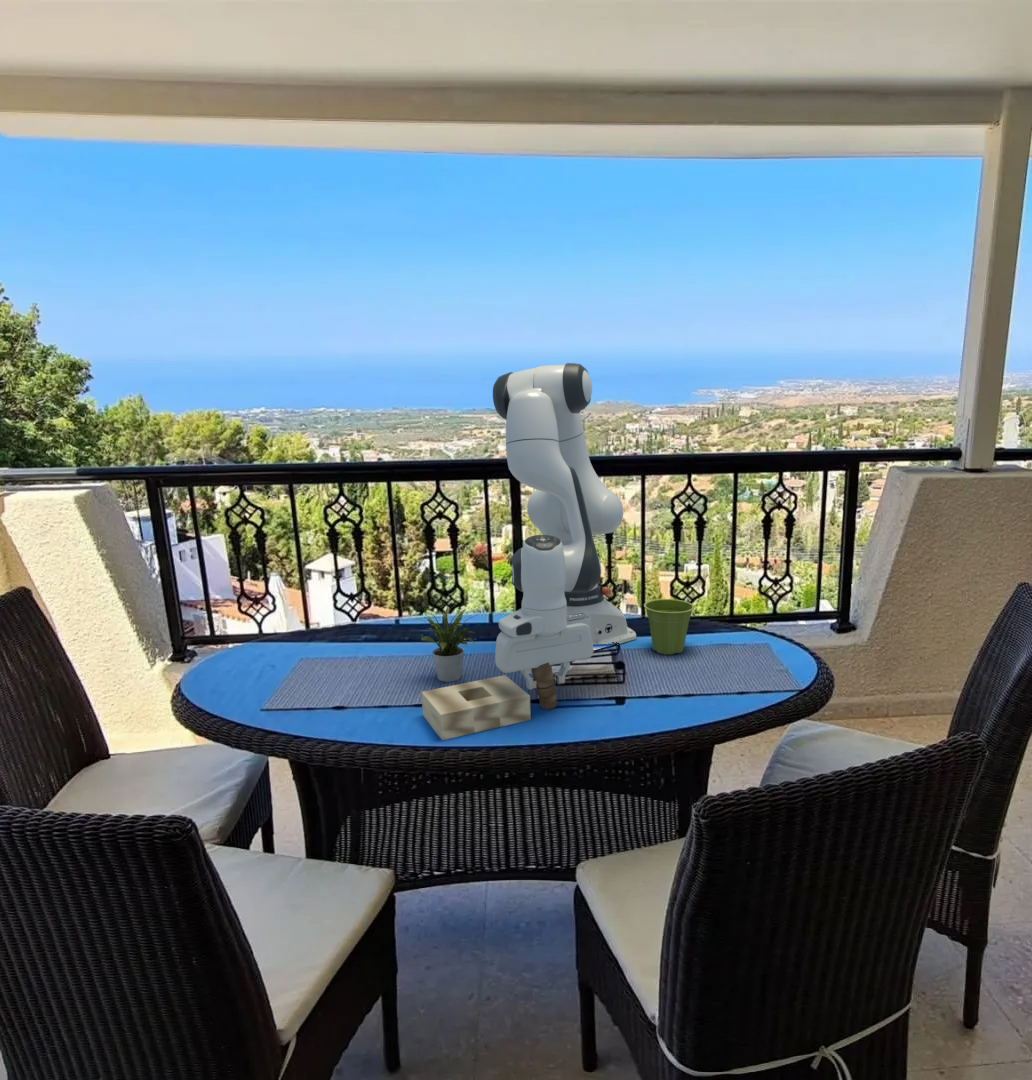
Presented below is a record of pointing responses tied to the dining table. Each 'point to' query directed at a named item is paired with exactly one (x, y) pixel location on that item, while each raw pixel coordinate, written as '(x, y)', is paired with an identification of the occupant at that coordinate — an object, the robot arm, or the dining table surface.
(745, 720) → the dining table surface
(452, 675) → the house plant
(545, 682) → the peg
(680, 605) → the plant pot
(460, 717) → the seat block
